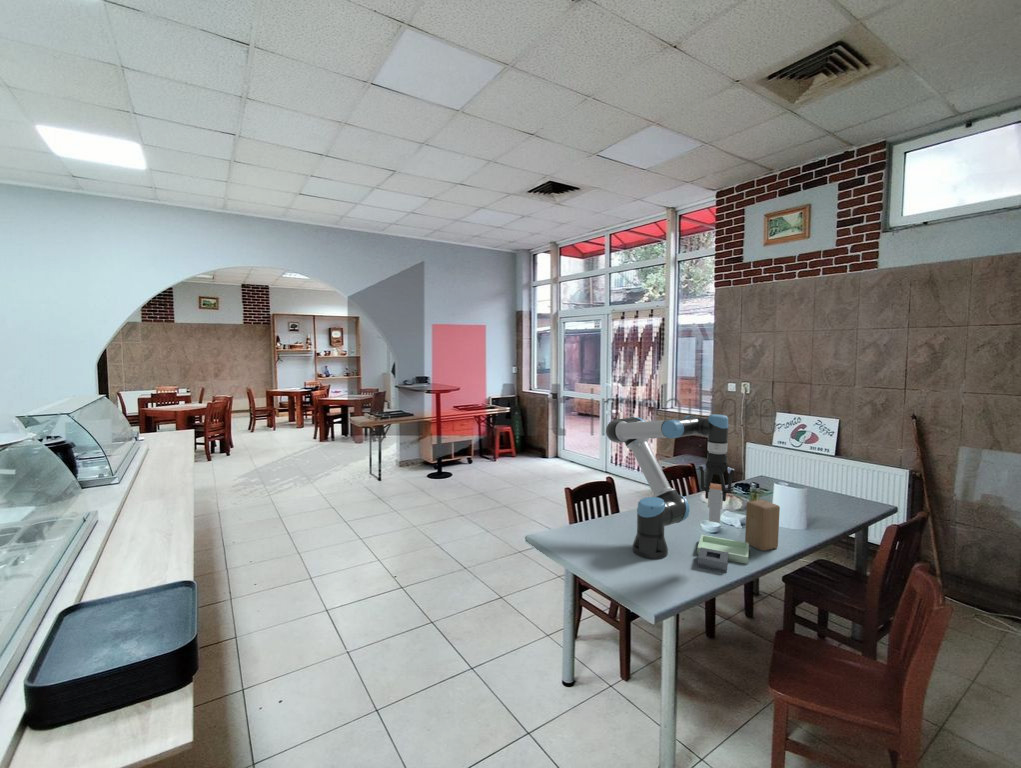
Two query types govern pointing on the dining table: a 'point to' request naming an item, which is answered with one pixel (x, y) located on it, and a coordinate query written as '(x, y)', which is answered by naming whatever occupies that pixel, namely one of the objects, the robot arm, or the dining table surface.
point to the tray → (726, 547)
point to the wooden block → (762, 524)
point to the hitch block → (713, 559)
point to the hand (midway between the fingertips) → (715, 507)
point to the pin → (715, 502)
